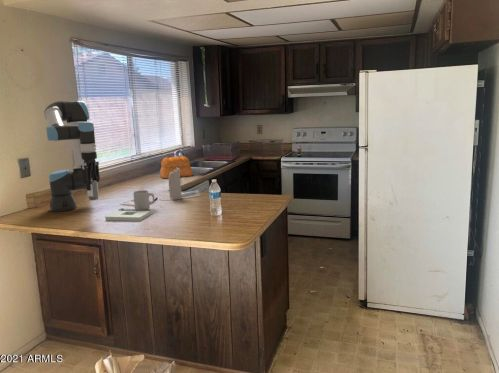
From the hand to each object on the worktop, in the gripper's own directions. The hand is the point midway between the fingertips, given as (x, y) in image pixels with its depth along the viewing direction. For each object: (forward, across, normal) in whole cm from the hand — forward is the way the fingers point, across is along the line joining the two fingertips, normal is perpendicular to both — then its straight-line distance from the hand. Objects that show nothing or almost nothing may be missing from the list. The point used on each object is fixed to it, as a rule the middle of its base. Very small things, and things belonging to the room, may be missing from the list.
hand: (93, 194), depth 226 cm
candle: (+15, +52, -22) cm, 59 cm away
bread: (+17, +137, +5) cm, 138 cm away
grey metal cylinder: (+2, 0, 0) cm, 2 cm away
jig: (+14, +8, -15) cm, 23 cm away
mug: (+15, +24, -18) cm, 33 cm away
